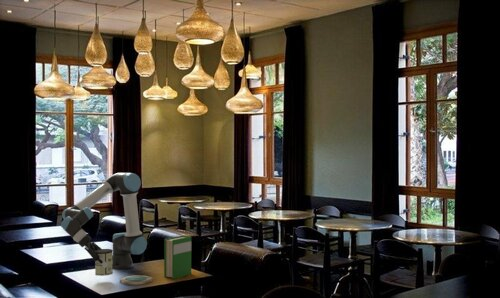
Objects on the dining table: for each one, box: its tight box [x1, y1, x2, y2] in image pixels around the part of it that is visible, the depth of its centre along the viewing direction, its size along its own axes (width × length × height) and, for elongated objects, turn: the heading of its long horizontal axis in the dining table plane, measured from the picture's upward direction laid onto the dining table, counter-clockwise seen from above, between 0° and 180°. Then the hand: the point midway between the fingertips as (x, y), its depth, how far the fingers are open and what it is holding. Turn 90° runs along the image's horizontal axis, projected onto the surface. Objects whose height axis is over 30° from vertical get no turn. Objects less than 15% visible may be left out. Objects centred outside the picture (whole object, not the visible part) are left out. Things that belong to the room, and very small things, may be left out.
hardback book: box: [163, 235, 192, 280], centre depth 352 cm, size 18×7×24 cm, turn 148°
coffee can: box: [94, 248, 114, 277], centre depth 334 cm, size 10×10×14 cm
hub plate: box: [119, 274, 153, 286], centre depth 337 cm, size 19×19×2 cm
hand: (108, 264), depth 334 cm, fingers closed on coffee can, 10 cm apart
